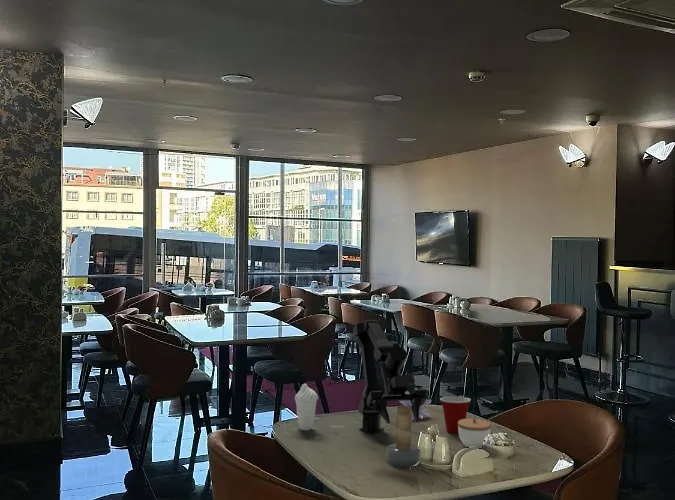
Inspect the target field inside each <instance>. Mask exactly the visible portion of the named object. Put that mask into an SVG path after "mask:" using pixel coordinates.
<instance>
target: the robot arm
mask: <svg viewBox="0 0 675 500" xmlns="http://www.w3.org/2000/svg"><path fill="white" fill-rule="evenodd" d="M352 328H353V329H352V335H353V337H354V340H355V344H357V346H358V347H359V348H360V352H361V360H362V368H363V369H362V370H363V376H364V377H363V378H364V385H365V388H364V389H363V391H362V393H361V399H360V402H359V404H358V413H360V415H362V416H363V417H362V424H361V425H362V427H359V429H358V430H359V431H362V432H366V433H369V434H376V433H379V432H382V431H384V430H385V429H384V428H383V427H381V417H382V419H383V420H384V421H385V423H386V424H388V425H389V424H390V423H391V421H390V414H389V412H388V409H387V405H388V402H399V401H408V400H410V401H411V404H412V406H411V408H412V411H413V415H414V418H415V419H414V421H415V423H418V422H419V419H420V417H419V408H420V406H421V405H423V404H424V402H425V401H426V400H427V398H428V397H429V395H428V391H427V390H426V389H424V388H420V389H419V388H417V389H415V388H414V389H413V391H412V393H410V394H405V392H407V391H408V390H409V389H408V387H411V386H413V385H414V384H415V376H414V373H407V374H406V375H401V371H400V370H401V369H403V366H404V364H405V361H406V359H407V358H408V353H407V352H408V351H406V349H405V348H404V347H401V346H400V344H399V343H394V342H393V341H391V340H388V339H387V337H386V335H385V333H384V331H383V329H382V328H381V325H380V321H379V320H377V319H366V320H363V322H360V323H356V324H355V326H353V327H352ZM376 363H382V364H381V367H380V374H381V375H382V379H383V383H384V385H383V387H381V386H380V384H379V379H378V373H377V372H378V371H377V365H376ZM385 392H386V394H385Z"/></svg>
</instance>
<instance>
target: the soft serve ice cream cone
mask: <svg viewBox="0 0 675 500" xmlns="http://www.w3.org/2000/svg"><path fill="white" fill-rule="evenodd" d="M318 399H319V396H318V394H317V393H316V391H315V390H313V389H312V388H310V387H309V386H308V384H307V383H303V384H301V386H300V390H298V392H297V393H296V394H295V397H294V400H295V405H296V416H297V421H298V428H299V429H300V431H311V430H312V429H313V423H314V419H315V416H316V406H317V402H318ZM310 429H311V430H310Z"/></svg>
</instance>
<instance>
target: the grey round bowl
mask: <svg viewBox="0 0 675 500" xmlns="http://www.w3.org/2000/svg"><path fill="white" fill-rule="evenodd" d="M418 448H419V447H418V446H417V445H415V444H411V449H410V450H409V451H400V450H397V449H396V443H391V444H389V445H387V447H386V463H387V464H388V465H391V466H394V467H397V468H412V467H411V466H413V465H415V464H416V463H417V462H418V461H419V457H420V453H421V452H420V451H421V449H420V448H419V449H418ZM420 458H421V457H420Z"/></svg>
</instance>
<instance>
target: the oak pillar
mask: <svg viewBox="0 0 675 500" xmlns="http://www.w3.org/2000/svg"><path fill="white" fill-rule="evenodd" d="M411 418H412V408H411V407H408V406H404V405H399V406H397V407H396V429H395V430H396V434H395V436H396V437H395V444H396V449H397V450H400V451H409V450H410V449H411V445H412V421H411Z"/></svg>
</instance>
